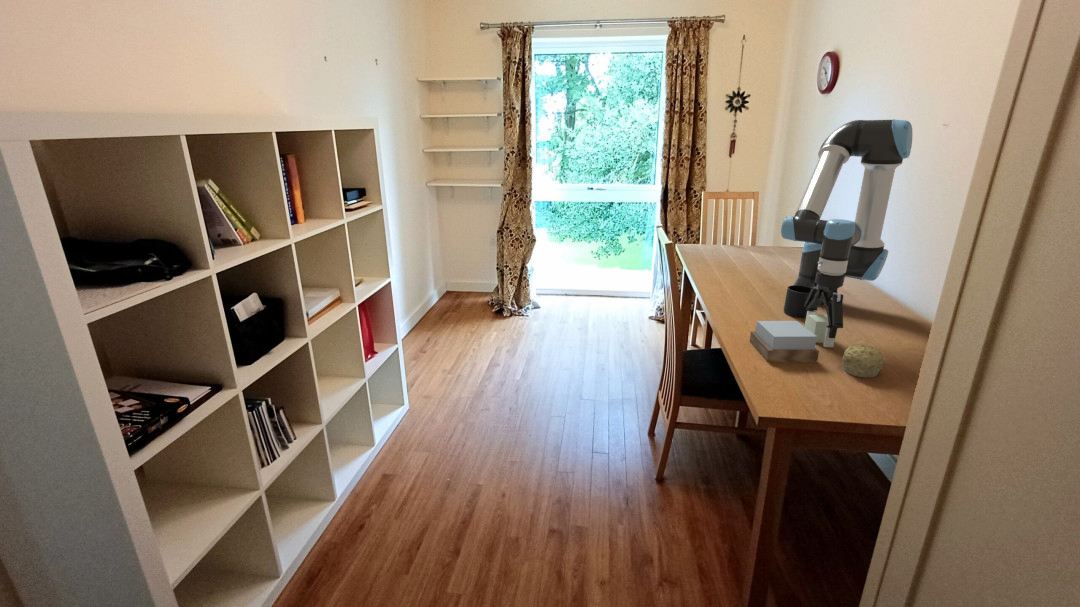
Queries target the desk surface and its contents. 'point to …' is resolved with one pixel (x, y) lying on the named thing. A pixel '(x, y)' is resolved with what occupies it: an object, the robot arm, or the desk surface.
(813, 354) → the bottom slab
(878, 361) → the decorative item
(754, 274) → the desk surface
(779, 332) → the top slab
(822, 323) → the block
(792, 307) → the mug
